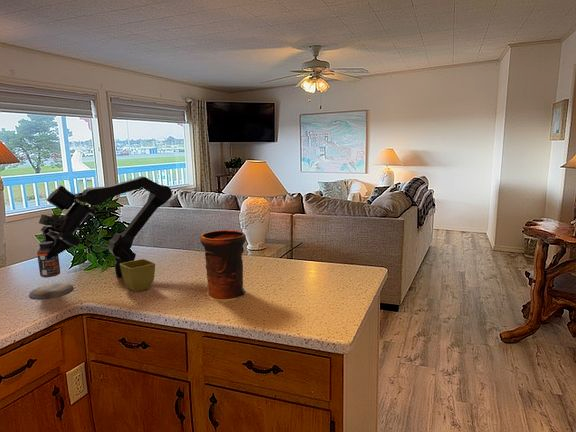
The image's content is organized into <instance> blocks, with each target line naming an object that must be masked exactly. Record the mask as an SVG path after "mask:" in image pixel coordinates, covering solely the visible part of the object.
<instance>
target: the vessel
mask: <svg viewBox="0 0 576 432" xmlns="http://www.w3.org/2000/svg"><path fill="white" fill-rule="evenodd" d="M199 239H200V240H199V242H200V244H201V245H202V246H203V247H204V252H205V253H204V256H205V258H204V259H205V270H206V279H207V288H208V289H207V290H208V291H207V292H206V293H205V296H206V298H207V300H212V301H214V302H228V301H234V300H236V299H238V298H240V297H244V296H245V295H246V293H247V291H246V290H245V287H244V274H243V272H244V263H243V262H244V260H243V253H244V250H245V249H244V244H245V242H246V239H247V237H246V234H245V233H244V232H243V231H239V230H238V231H237V230H234V229H233V230H232V229H220V230H213V231H206V232H203V233H202V234H200V236H199Z"/></svg>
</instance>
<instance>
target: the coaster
mask: <svg viewBox="0 0 576 432" xmlns="http://www.w3.org/2000/svg"><path fill="white" fill-rule="evenodd" d="M72 291H74V285H73V284H70V283H64V282H63V283H62V282H61V283H53V284H46V285H43V286H39V287H36V288H35V289H33V290H31V291H29V292H28V295H29V296H28V297H29V298H31V299H35V300H46V299H52V298H57V297H61V296H65V295H67V294H69V293H71V292H72Z"/></svg>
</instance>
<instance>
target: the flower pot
mask: <svg viewBox="0 0 576 432" xmlns="http://www.w3.org/2000/svg"><path fill="white" fill-rule="evenodd" d="M120 268H121V272H122V276H123V277H122V279H123V281H124V283H125V285H126V287H127V288H128V289H130V290H131V291H133V292H136V293H137V292H140V291H143V290H148V289H150V288H151V286H152V285H153V282H154V279H155V272H156V263H155V262H153V261H151V260H148V259H146V258H141V259H134V261H130V262H125V263H121V264H120Z"/></svg>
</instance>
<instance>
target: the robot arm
mask: <svg viewBox="0 0 576 432" xmlns="http://www.w3.org/2000/svg"><path fill="white" fill-rule="evenodd" d="M140 189H143V190H145V191H147V192H149V195H148V198H147V200H146V203H145V204H144V205H143V207H142V208H141V209H140V210H139V212H138V213H137V214H136V215H135V216H134V218H133V219H132V220H131V222H130V223H129V224H128V225H127V227H126V228H125V229H124V231H122V232H121V233H118V232H115V233H114V234H113V236H112V237H111V239H108V245H107V248H108V251H109V253H111V254H112V255H113V256H114V257H115V262H114V269H115V271H114V272H115V275H116V276H117V278H123V276H122V272H121V268H120V264H121V263H125V262H130V261H135V260H136V256H137V254H136V253H135V252H134V251H132V250H131V248H132V246H133V244H134V243H133V242H134V240H135V238H136V236H137V235H138V233H140V231H141V230H142V229H143V227H144V226H145V225H146V224H147V222H148V221H149V220H150V218H151V217H152V216H153V214H154V213H155V212H156V211H157V209H158V208H160V207H161V206H163V205H165V204H166V203H167V202H168V201H169V200H170V199H171V198H172V196H173V191H172V189H171V187H169V186H168V185H163V184H159V183H157V182H155V181H153V180H151V179H149V178H148V177H145V176H138V177H136V178H133V179H129V180H126V181H121V182H119V183H115V184H111V185H108V186H107V185H105V186H96V187H87V188H85V189H84V190H83V191H82V192H79V193H72V192H71V191H69V190H68V189H67V188H66V187H65V186H63V185H59V186H58V187H57V188H56V189H55V190H53V191H51V193H50V194H49V195H48V197H47V198H46V202H47V203H50V204H51V205H53V206H54V207H56V209H59V210H60V211H64V210H66V211H67V212H66V214H64V215H58V214H54V213H53V214H51V215H46V214H43V213H42V214H41V216H40V218H39V222H38V224H41V225H42V227H41V229H40V230H39V231H40V232H42V235H43V242H47V241H52V242H53V246H52V247H51V249H50V251H49V252H48V254H47V256H46V258H47V259H50V258H52V257H54V256H56V255H58V256H59V254H61V253H63V252H65V251H67V250H68V249H71V248H73V247H75V248H78V246H79V245H80V243H81V238H80V237H78V236H76V235H75V232H76V231H77V230H80V229H81V228H82V225H81V224H83V222H84V220H85V219H86V218H87V217H88V215H91V216H97V213H96V208H95V207H90V206H98V205H100V204H103V203H104V202H106V201H108V200H109V199H111V198H113V197H116V196H119V195H122V194H126V193H128V192H129V193H130V192H132V191H135V190H140ZM78 201H79V202H78ZM80 202H81V203H80ZM87 204H88V205H87ZM89 205H90V206H89Z"/></svg>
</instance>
